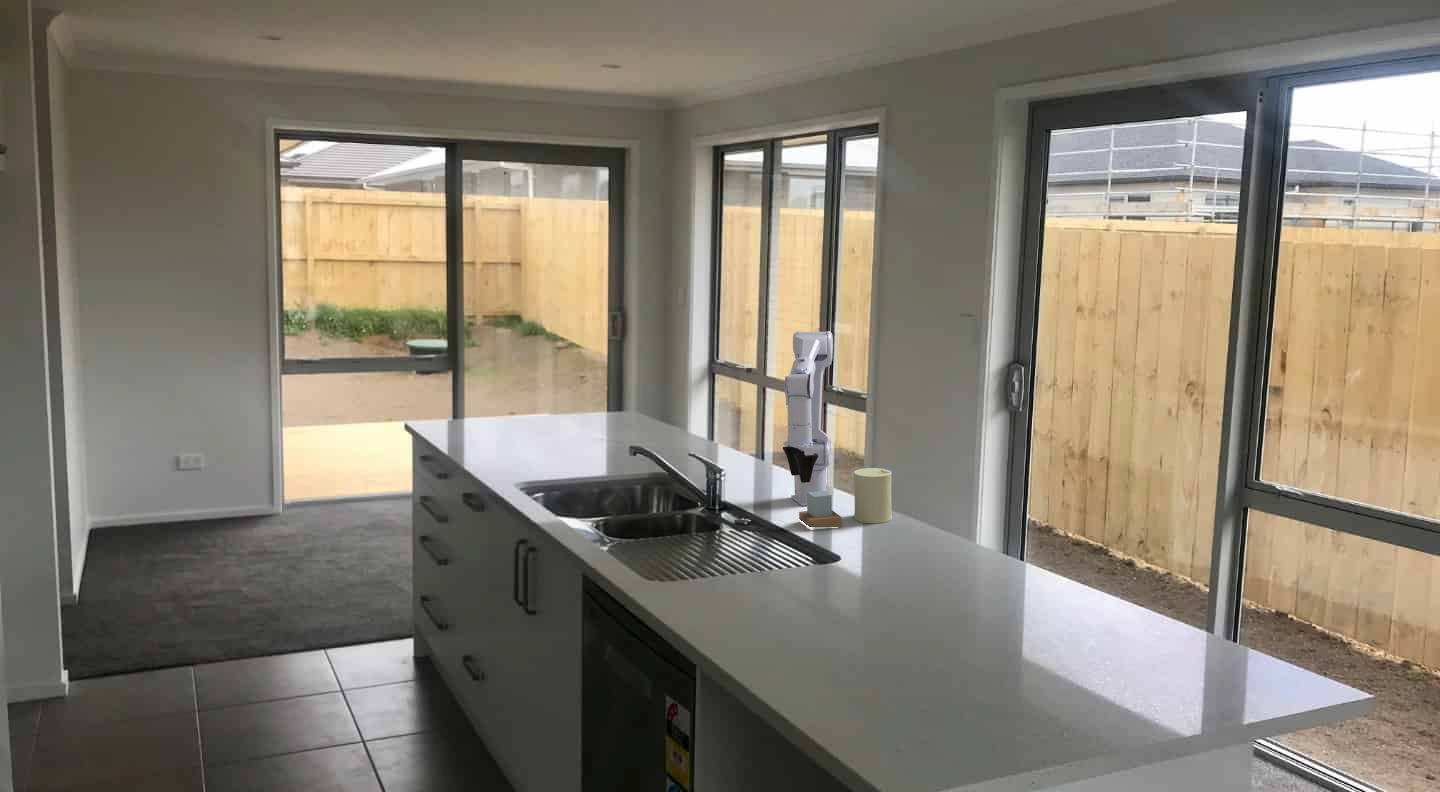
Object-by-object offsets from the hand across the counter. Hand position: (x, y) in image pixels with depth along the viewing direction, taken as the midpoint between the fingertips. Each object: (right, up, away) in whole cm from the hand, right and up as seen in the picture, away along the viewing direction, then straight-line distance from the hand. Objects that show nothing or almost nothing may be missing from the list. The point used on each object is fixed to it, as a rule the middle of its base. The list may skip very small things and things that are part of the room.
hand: (800, 478), depth 275 cm
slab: (+5, -11, -2) cm, 12 cm away
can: (+18, -10, +2) cm, 20 cm away
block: (+4, -8, -3) cm, 10 cm away
